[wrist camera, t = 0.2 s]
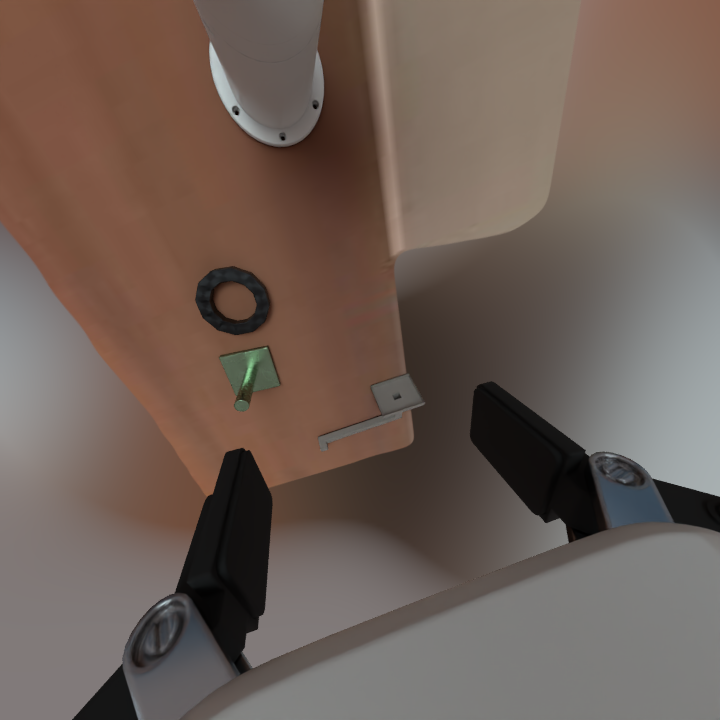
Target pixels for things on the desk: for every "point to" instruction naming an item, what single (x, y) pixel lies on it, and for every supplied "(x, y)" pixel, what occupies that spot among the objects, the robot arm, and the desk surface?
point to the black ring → (220, 321)
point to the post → (249, 373)
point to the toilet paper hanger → (383, 407)
